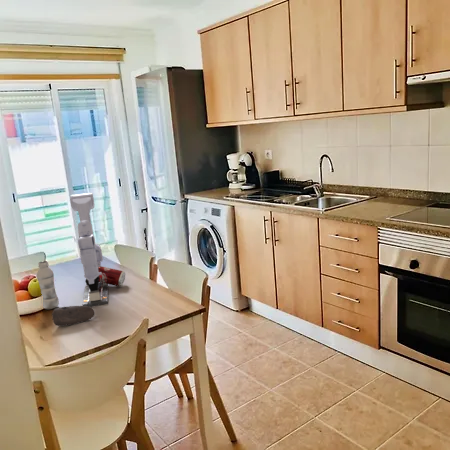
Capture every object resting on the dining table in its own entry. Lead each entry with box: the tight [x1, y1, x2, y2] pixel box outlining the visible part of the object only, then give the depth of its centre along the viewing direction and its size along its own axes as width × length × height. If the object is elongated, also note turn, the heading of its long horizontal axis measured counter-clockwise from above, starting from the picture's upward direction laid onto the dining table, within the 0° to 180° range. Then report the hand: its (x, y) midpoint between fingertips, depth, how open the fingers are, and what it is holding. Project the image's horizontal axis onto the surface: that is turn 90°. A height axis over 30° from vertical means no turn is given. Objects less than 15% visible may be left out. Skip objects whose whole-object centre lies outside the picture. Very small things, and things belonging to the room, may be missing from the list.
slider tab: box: [89, 290, 100, 301], centre depth 183 cm, size 3×4×4 cm
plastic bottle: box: [36, 260, 60, 310], centre depth 181 cm, size 6×7×20 cm
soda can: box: [98, 265, 126, 287], centre depth 201 cm, size 7×7×12 cm
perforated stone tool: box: [51, 305, 96, 327], centre depth 166 cm, size 15×5×7 cm, turn 105°
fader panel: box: [81, 283, 109, 308], centre depth 192 cm, size 23×10×2 cm, turn 14°
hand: (94, 294), depth 186 cm, fingers closed
